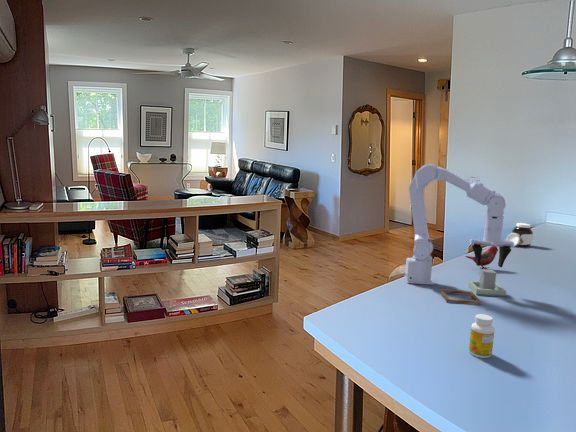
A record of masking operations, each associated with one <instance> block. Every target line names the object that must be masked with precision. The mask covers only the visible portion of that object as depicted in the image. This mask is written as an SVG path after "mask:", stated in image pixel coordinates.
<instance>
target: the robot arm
mask: <svg viewBox="0 0 576 432" xmlns="http://www.w3.org/2000/svg"><path fill="white" fill-rule="evenodd" d="M435 180H436V182H439V181H440V182H446V183H449V184H451V185H453V186H455V187H456V188H458V189H460V190H463V191H464V192H465V193H466V197H468V198H470V199H472V200H473V201H474V202H475V201H476V203H478V204H480V205H482V206H486V207H487V212H486V214H485V221H484V230H483V238H470V239H469V245H470V246H471V247H472V250H473V253H474V257H475V258H476V263H475V265H476V266H477V267H481V266H480V260H481V253H483V247H484V246H486V247H492V246H496V247H498V248H499V249H498V252H499V257H498V263H497V264H498V265H497V266H498V267H499V268H503V266H504V262H505V261H506V259H507V258H508V256H509V255H510V253H511V252H512V249H513V248H515V246H514V242H512V241H506V240H502V234H503V226H504V214H505V211H504V210H505V208H506V200H505V197H504V196H503V195H501V194H500V193H499V192H497V191H495V190H491V189H490V188H488V187H486V186H484V183H482V182H479V183H478V182H476V181H475V182H471V183H470V182H469V181H467V180H465V179H464V178H462V177H460V176H458V175H457V174H455V173H454V172H452V171H450V170H448V169H446V168H445V167H444V168H443V167H441V166H437V165H436V164H434V163H426V164H423V165H422V166H421V167H420V168H418V169H417V170H416V171H415V174H414V176H413V178H412V180H411V182H410V184H409V186H408V191H409V192H408V193H409V199H410V205H411V214H412V222H413V230H414V240H413V241H414V242H413V243H414V246H413V250H412V253H413V255H412V257H406V260H405V267H404V268H405V270H404V277H403V278H404V279H405V281H406V283H407V284H415V285H417V284H419V285H432V286H433V285H434V283H433V281H432V272H433V271H432V268H433V256H432V253H433V251H434V244H433V242H432V240H431V238H430V234H429V230H428V222H427V214H426V207H425V198H424V190H425V189H426V187H427V186H428V185H429V184H430V183H431V182H434V181H435ZM482 246H483V247H482Z"/></svg>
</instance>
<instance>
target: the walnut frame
mask: <svg viewBox="0 0 576 432" xmlns="http://www.w3.org/2000/svg"><path fill="white" fill-rule="evenodd" d="M438 293H440V295H441V297H442V298H443V299H444V301H445V302H446V303H451V304H452V303H453V304H467V305H482V301H481V300H480V299H479V298H478V296H477V295H476V294H475V293H474V292H473V291H472V290H458V289H446V288H445V289H443V288H442V289H441V288H440V289H439V292H438ZM447 294H454V295H466V296H467V295H469V296H470V297H471V299H459V298H449V296H448V295H447Z"/></svg>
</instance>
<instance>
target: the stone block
mask: <svg viewBox="0 0 576 432" xmlns="http://www.w3.org/2000/svg"><path fill="white" fill-rule="evenodd" d="M496 277H497V272H496V271H495V270H493V269H482V268H481V269H480V277H479V278H480V279H479V282H480V284H479V288H480V289H492V290H494V288H495V283H496Z"/></svg>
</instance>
